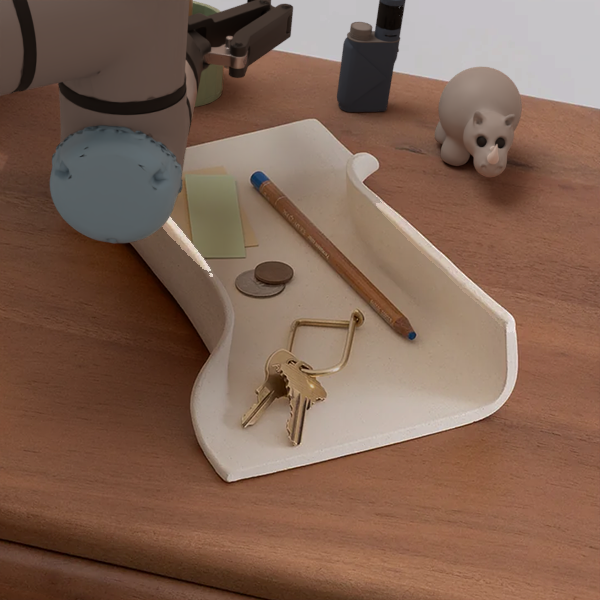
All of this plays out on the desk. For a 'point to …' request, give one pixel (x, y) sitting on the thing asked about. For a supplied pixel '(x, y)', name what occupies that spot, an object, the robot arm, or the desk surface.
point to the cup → (213, 74)
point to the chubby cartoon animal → (478, 119)
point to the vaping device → (370, 60)
